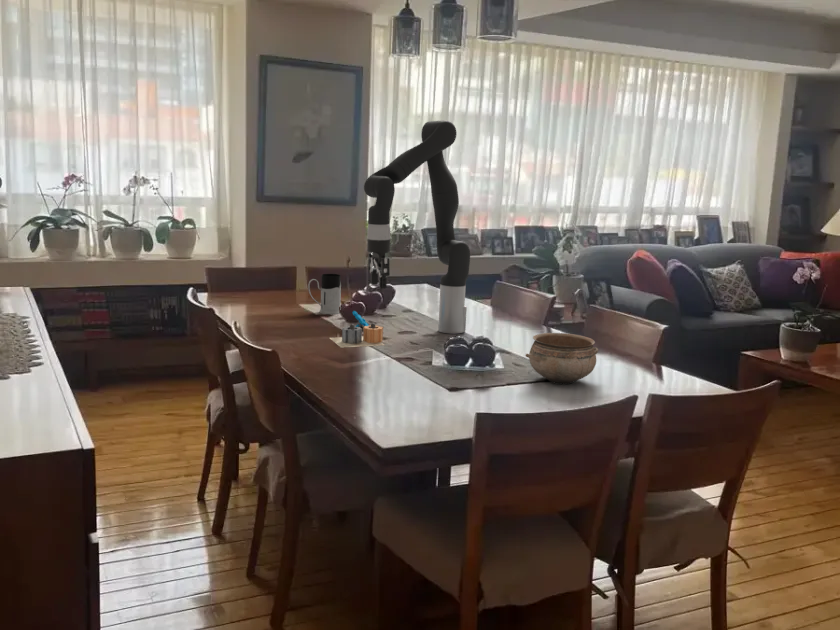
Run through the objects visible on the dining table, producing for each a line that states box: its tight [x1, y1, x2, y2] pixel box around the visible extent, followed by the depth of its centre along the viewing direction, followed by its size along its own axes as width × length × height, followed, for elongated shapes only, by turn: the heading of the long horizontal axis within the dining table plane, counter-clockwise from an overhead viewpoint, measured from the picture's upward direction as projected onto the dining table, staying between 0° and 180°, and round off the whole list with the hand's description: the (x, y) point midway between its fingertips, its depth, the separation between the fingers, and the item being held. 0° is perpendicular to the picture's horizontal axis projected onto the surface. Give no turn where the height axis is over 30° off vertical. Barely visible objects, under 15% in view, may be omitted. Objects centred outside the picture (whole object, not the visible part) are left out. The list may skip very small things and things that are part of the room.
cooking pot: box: [524, 332, 599, 385], centre depth 218 cm, size 25×19×12 cm
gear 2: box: [362, 324, 384, 343], centre depth 254 cm, size 6×6×4 cm
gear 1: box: [341, 326, 363, 344], centre depth 251 cm, size 6×6×4 cm
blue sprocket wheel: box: [352, 310, 370, 328], centre depth 272 cm, size 11×6×10 cm
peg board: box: [329, 322, 385, 349], centre depth 252 cm, size 15×14×7 cm
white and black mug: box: [307, 273, 342, 315], centre depth 303 cm, size 9×14×15 cm, turn 124°
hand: (378, 286), depth 254 cm, fingers open, 8 cm apart
